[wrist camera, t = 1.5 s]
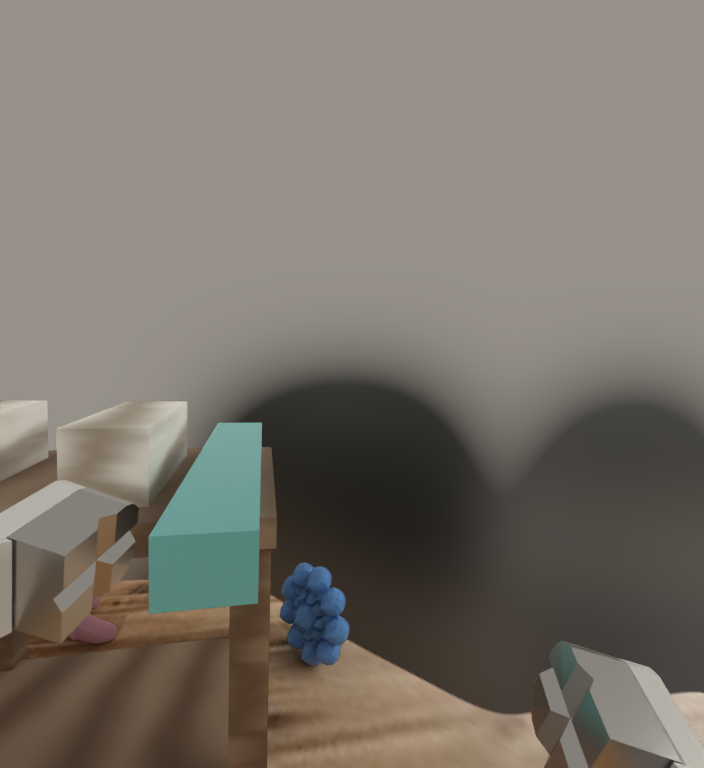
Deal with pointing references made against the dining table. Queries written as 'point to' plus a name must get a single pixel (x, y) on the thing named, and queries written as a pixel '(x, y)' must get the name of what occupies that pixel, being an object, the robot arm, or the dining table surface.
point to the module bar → (211, 528)
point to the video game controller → (94, 629)
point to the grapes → (314, 614)
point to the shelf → (139, 664)
